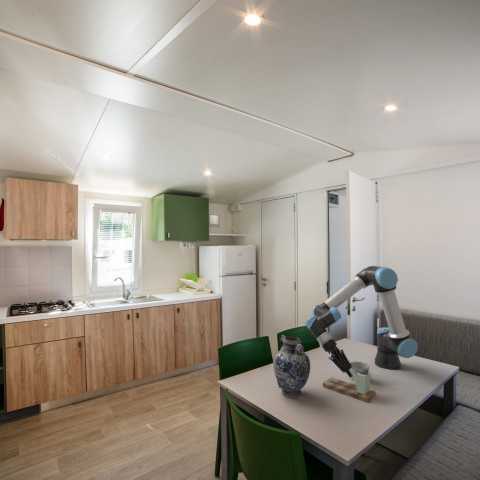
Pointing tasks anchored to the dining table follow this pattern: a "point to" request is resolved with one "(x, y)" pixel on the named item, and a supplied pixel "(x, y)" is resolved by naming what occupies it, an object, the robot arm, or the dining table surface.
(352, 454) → the dining table surface
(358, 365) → the teacup
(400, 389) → the dining table surface
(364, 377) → the fader tab
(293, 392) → the decorative vase
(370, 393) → the fader track
